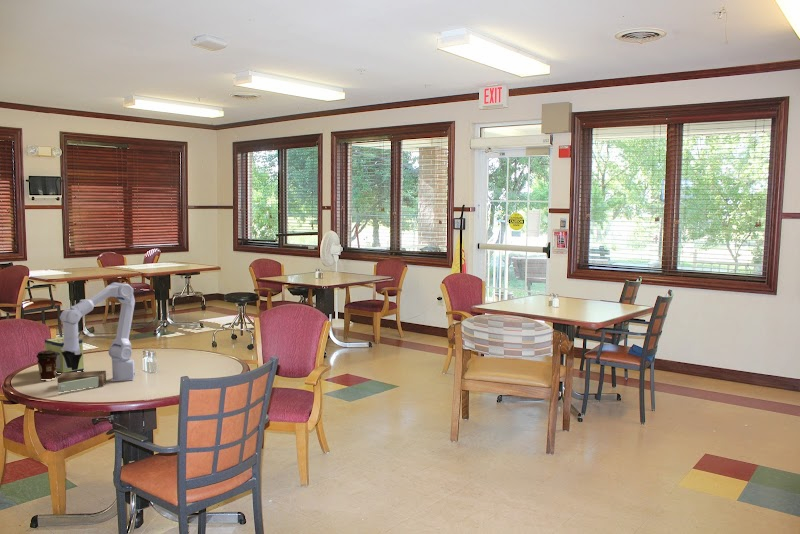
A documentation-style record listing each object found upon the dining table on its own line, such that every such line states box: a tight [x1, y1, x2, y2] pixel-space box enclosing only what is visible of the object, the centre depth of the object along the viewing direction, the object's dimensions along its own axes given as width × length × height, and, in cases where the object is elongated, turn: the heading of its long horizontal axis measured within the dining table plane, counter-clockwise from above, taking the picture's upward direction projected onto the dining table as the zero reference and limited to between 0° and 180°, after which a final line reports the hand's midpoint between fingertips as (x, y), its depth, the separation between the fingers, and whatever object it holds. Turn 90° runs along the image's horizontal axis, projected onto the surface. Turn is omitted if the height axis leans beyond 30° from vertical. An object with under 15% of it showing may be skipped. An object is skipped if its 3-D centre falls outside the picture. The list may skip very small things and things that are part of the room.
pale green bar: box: [57, 376, 99, 393], centre depth 288 cm, size 16×2×4 cm, turn 135°
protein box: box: [44, 336, 85, 374], centre depth 321 cm, size 10×16×16 cm
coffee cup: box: [36, 350, 58, 380], centre depth 306 cm, size 9×8×13 cm
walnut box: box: [56, 370, 107, 387], centre depth 297 cm, size 18×9×5 cm, turn 105°
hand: (72, 368), depth 289 cm, fingers open, 5 cm apart
